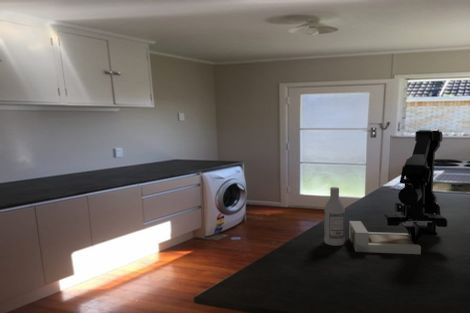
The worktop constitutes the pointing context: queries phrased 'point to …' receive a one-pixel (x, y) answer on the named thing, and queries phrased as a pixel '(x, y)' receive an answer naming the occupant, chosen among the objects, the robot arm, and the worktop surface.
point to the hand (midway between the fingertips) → (413, 244)
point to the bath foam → (334, 219)
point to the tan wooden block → (389, 239)
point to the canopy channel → (361, 243)
